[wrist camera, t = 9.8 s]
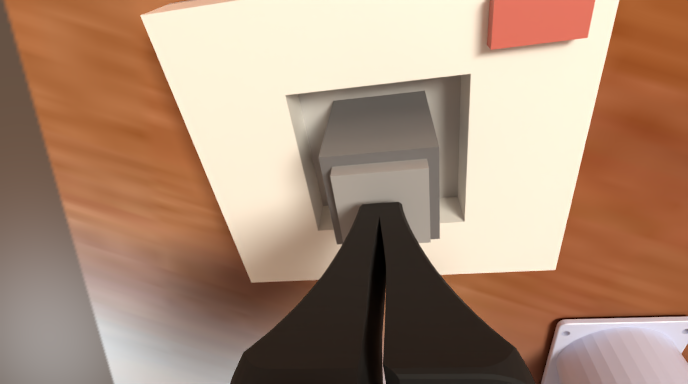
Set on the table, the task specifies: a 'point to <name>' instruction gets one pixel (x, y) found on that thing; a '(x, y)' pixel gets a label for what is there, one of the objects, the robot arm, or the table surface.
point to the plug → (382, 161)
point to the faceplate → (384, 79)
